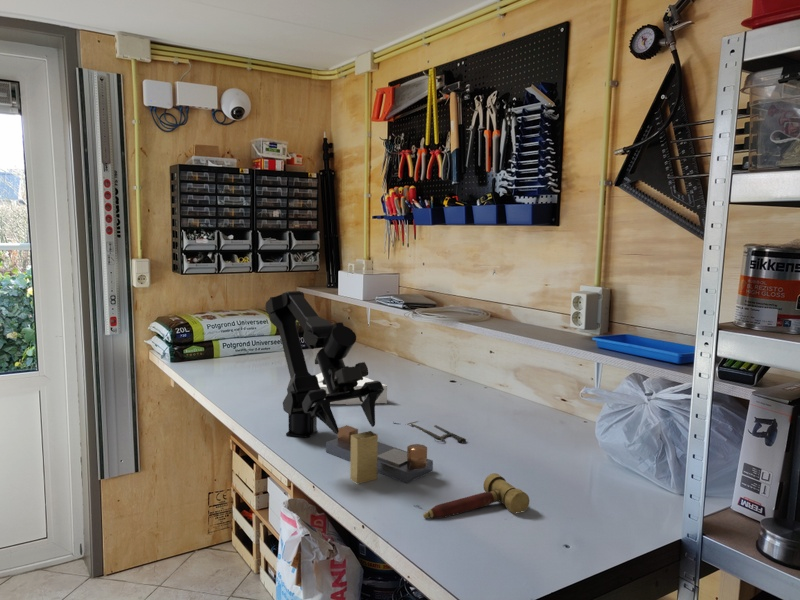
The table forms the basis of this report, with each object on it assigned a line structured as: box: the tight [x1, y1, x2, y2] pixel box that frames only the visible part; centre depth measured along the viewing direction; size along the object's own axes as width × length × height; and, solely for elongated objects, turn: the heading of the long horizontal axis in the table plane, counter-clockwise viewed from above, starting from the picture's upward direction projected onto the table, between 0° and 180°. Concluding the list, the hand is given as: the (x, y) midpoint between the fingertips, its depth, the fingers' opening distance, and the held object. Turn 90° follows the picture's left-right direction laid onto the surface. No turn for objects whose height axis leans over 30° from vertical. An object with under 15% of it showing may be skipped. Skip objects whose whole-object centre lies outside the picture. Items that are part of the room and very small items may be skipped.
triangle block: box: [315, 372, 388, 405], centre depth 191 cm, size 30×26×6 cm
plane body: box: [325, 425, 434, 484], centre depth 141 cm, size 27×9×6 cm, turn 49°
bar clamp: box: [393, 420, 467, 444], centre depth 162 cm, size 24×10×2 cm, turn 29°
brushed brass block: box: [349, 430, 379, 485], centre depth 131 cm, size 3×5×10 cm, turn 123°
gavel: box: [422, 473, 530, 519], centre depth 119 cm, size 21×5×10 cm
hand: (355, 429), depth 134 cm, fingers open, 9 cm apart
